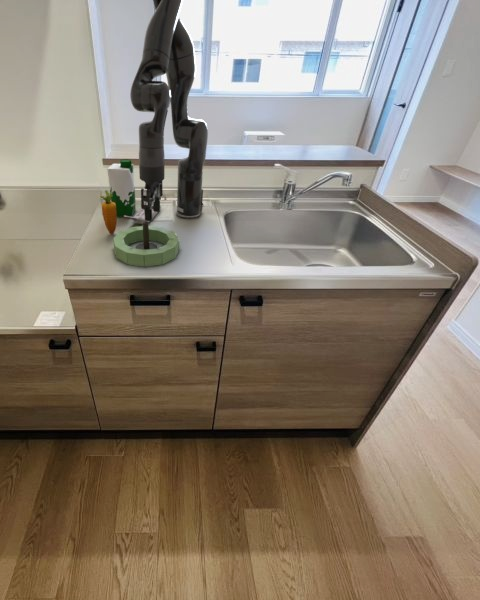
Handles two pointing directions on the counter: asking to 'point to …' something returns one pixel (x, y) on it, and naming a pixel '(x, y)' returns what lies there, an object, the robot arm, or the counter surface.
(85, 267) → the counter surface
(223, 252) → the counter surface
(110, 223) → the carrot
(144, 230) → the peg stand
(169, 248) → the ring
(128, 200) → the milk carton
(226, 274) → the counter surface
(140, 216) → the mobile phone
